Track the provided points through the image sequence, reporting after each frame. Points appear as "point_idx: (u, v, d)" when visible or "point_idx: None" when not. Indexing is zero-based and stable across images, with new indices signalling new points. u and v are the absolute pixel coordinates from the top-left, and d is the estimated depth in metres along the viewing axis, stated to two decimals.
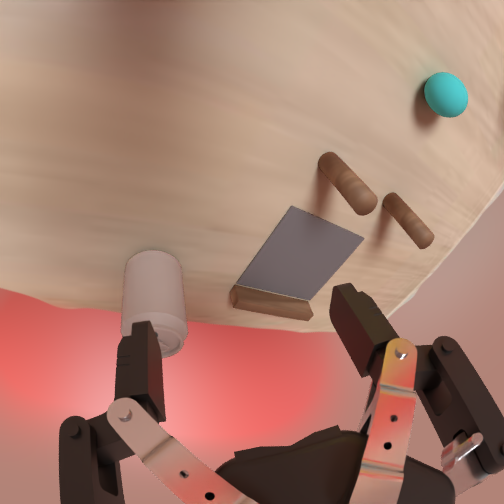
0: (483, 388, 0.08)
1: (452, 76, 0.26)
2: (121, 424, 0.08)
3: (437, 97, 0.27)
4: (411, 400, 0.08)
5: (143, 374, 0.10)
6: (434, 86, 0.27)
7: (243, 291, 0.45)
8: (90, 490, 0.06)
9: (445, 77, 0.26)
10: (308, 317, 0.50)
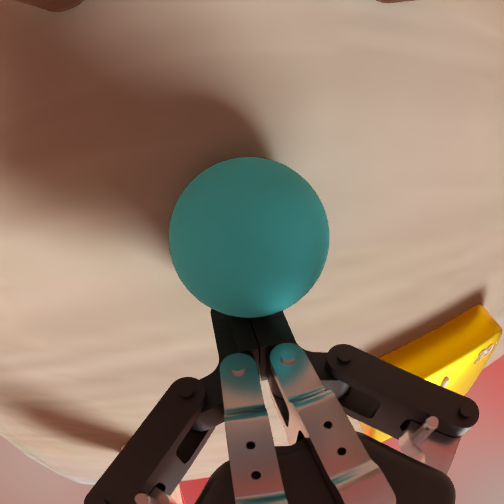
0: (405, 373, 0.09)
1: (313, 251, 0.09)
2: (238, 378, 0.09)
3: None
4: (331, 399, 0.08)
5: (248, 332, 0.11)
6: None
7: None
8: (163, 451, 0.07)
9: (327, 233, 0.10)
10: None
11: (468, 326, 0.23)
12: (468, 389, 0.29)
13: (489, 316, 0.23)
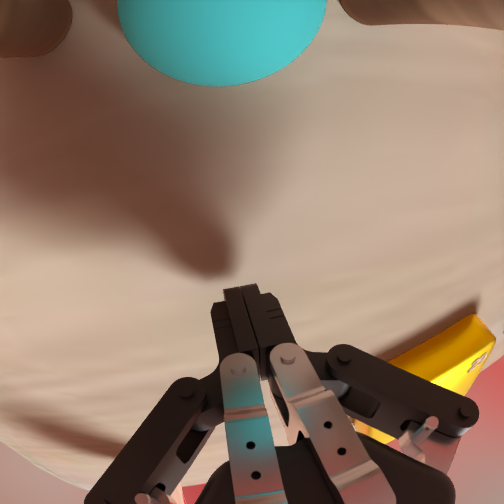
0: (405, 373, 0.09)
1: None
2: (238, 378, 0.09)
3: (314, 25, 0.06)
4: (331, 399, 0.08)
5: (248, 332, 0.11)
6: None
7: None
8: (163, 451, 0.07)
9: None
10: None
11: (461, 336, 0.23)
12: (464, 394, 0.29)
13: (483, 325, 0.23)
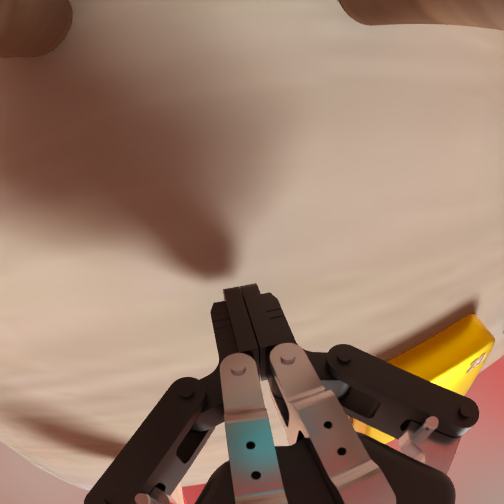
0: (405, 373, 0.09)
1: None
2: (238, 378, 0.09)
3: None
4: (331, 399, 0.08)
5: (248, 332, 0.11)
6: None
7: None
8: (163, 451, 0.07)
9: None
10: None
11: (460, 336, 0.23)
12: (463, 394, 0.29)
13: (482, 326, 0.23)
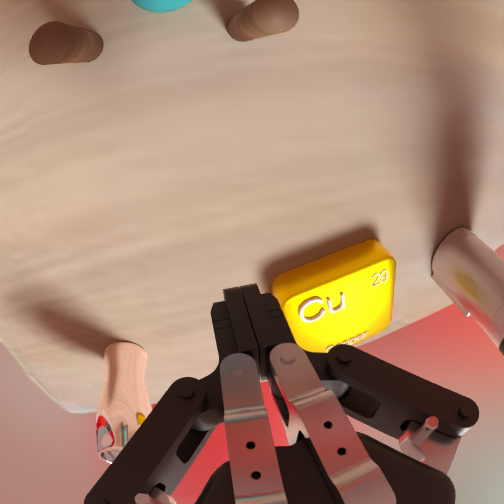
0: (405, 373, 0.09)
1: None
2: (238, 378, 0.09)
3: None
4: (331, 399, 0.08)
5: (248, 332, 0.11)
6: None
7: None
8: (163, 451, 0.07)
9: None
10: None
11: (359, 252, 0.35)
12: (387, 322, 0.41)
13: (381, 247, 0.35)
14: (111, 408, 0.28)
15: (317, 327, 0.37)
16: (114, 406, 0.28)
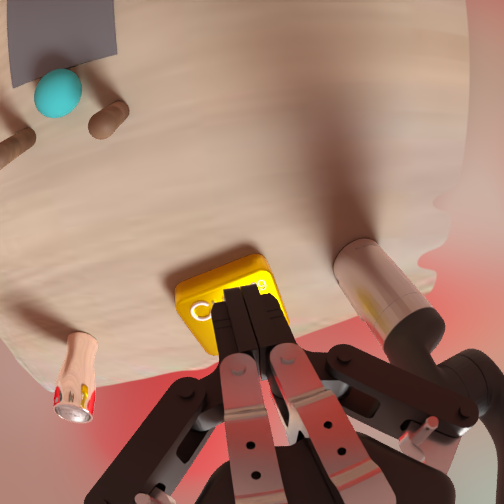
0: (405, 373, 0.09)
1: (65, 104, 0.25)
2: (238, 378, 0.09)
3: (70, 72, 0.24)
4: (331, 399, 0.08)
5: (248, 332, 0.11)
6: (77, 80, 0.25)
7: None
8: (163, 451, 0.07)
9: (73, 96, 0.25)
10: None
11: (239, 266, 0.45)
12: None
13: (259, 260, 0.45)
14: (63, 377, 0.39)
15: None
16: (65, 375, 0.39)
